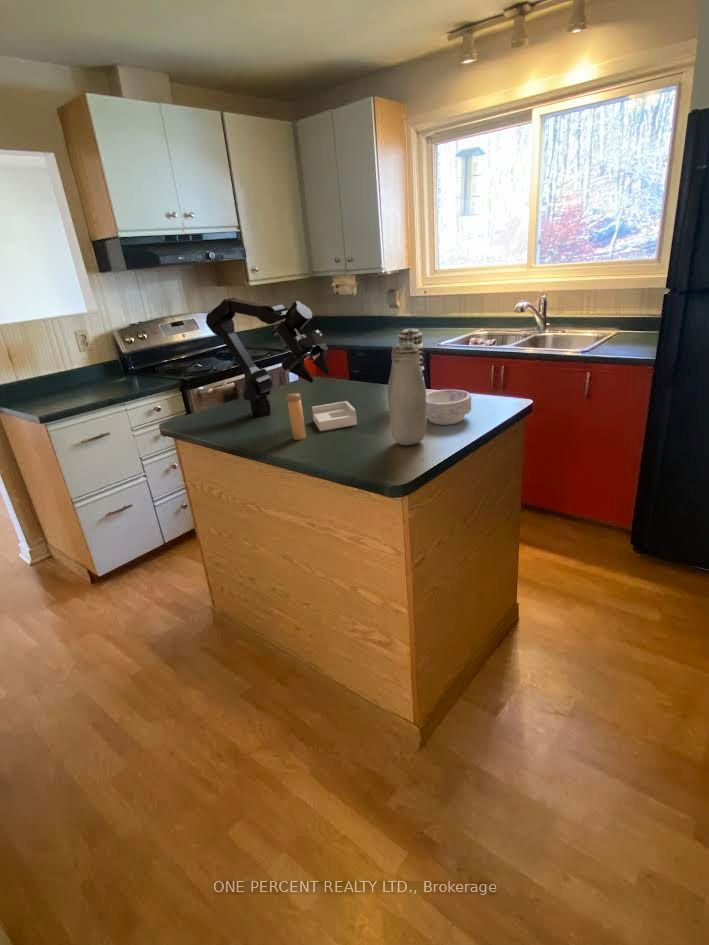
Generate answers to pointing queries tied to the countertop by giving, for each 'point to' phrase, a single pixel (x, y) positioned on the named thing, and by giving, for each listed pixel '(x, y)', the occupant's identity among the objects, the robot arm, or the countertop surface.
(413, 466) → the countertop surface
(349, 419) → the housing
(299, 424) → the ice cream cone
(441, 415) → the paper bowls
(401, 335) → the decorative candle
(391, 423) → the light grey bottle
